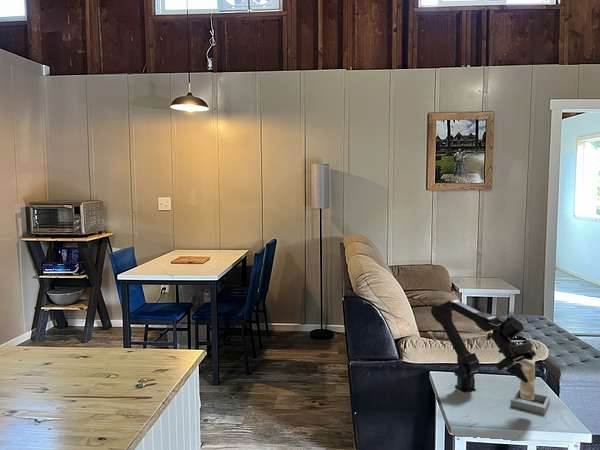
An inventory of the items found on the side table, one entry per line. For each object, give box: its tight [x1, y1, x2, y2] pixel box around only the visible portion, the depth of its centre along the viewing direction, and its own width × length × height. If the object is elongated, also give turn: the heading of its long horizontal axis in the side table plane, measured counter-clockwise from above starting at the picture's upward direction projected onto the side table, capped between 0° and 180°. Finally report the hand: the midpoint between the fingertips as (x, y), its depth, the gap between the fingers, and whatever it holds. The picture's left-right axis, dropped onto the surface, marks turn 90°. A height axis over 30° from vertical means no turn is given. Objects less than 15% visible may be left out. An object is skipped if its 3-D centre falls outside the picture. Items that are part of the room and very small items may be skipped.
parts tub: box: [510, 388, 551, 415], centre depth 181 cm, size 12×12×2 cm
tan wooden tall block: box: [519, 359, 536, 401], centre depth 172 cm, size 5×5×14 cm
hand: (531, 380), depth 171 cm, fingers closed on tan wooden tall block, 5 cm apart
